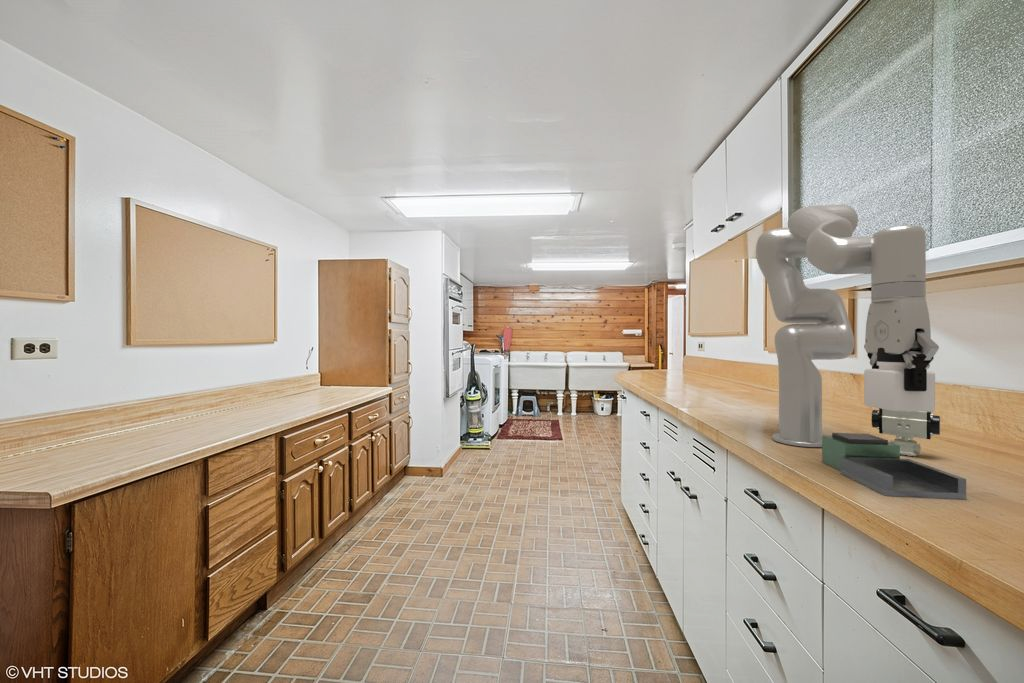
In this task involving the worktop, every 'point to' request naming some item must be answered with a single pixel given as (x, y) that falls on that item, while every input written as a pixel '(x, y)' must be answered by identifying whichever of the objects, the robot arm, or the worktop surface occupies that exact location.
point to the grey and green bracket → (887, 468)
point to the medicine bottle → (895, 386)
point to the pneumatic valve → (906, 427)
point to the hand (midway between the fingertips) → (897, 387)
